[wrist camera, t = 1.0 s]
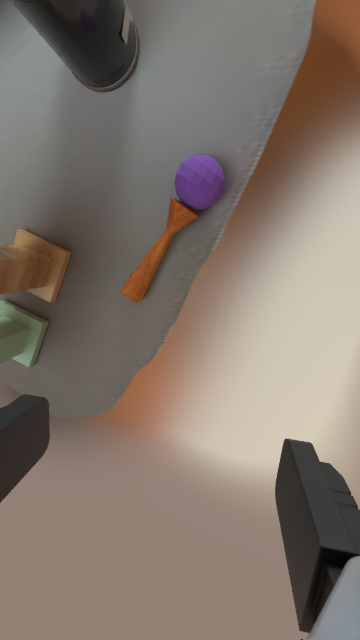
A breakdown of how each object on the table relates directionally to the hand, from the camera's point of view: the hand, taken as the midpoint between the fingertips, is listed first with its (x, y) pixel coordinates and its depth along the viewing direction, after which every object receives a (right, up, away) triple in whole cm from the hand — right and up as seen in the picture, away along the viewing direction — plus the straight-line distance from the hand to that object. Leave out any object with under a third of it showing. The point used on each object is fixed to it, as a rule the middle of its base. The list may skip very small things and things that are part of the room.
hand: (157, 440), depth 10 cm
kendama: (0, +16, +31) cm, 35 cm away
